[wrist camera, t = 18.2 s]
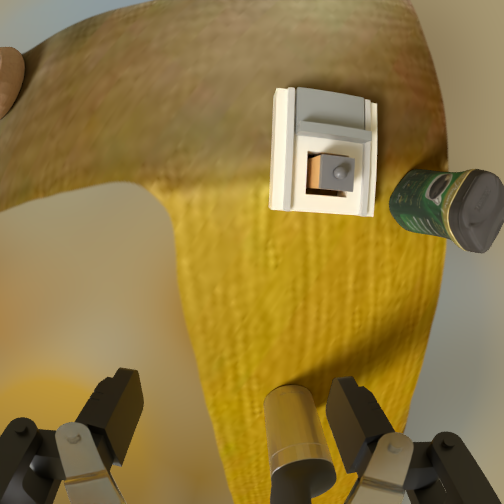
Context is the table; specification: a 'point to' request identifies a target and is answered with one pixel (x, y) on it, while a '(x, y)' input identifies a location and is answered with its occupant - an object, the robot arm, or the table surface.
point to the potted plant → (10, 77)
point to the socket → (297, 147)
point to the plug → (330, 173)
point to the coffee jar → (451, 206)
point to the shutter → (330, 116)
